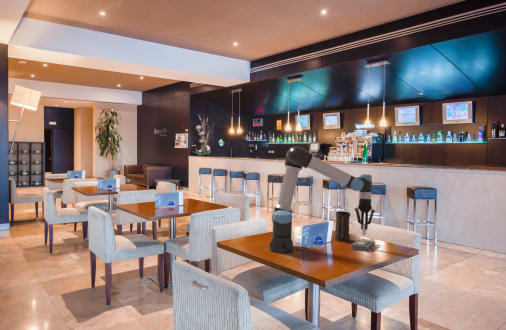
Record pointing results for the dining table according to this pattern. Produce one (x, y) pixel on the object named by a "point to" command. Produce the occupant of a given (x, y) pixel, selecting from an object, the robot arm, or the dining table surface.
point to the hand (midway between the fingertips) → (364, 234)
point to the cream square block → (363, 240)
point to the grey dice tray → (363, 248)
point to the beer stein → (342, 226)
